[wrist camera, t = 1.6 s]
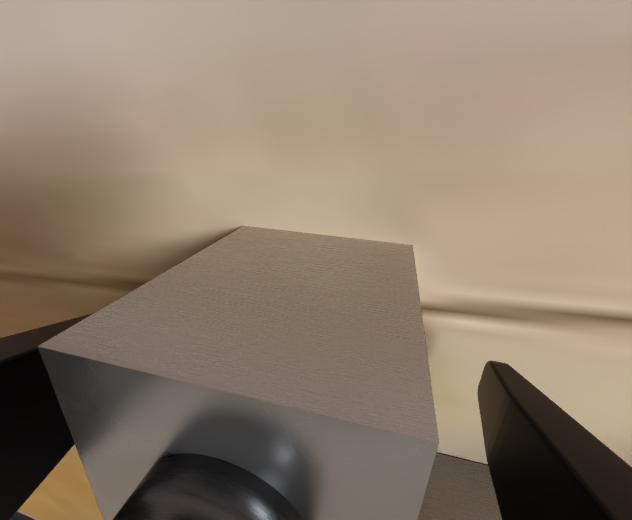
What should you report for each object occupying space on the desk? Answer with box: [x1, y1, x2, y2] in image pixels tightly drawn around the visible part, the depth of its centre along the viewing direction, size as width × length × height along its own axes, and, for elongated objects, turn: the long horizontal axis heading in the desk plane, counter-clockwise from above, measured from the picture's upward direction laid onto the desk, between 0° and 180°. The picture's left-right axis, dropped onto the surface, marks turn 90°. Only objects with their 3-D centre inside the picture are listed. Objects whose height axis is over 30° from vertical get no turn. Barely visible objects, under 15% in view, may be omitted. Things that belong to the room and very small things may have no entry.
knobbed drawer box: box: [38, 226, 439, 520], centre depth 7 cm, size 5×5×7 cm
